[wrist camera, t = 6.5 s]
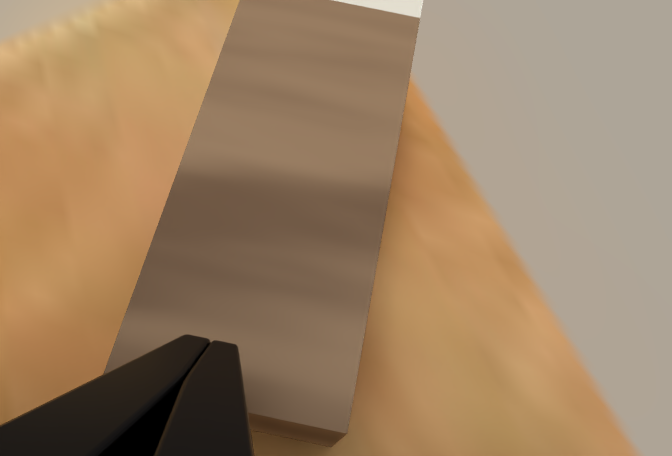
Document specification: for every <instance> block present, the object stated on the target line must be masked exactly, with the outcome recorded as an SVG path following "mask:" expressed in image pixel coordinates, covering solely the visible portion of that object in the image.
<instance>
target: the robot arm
mask: <svg viewBox="0 0 672 456" xmlns="http://www.w3.org/2000/svg"><path fill="white" fill-rule="evenodd" d="M0 456H254V451H253V444H252V437H251V431H250V424H249V417H248V410H247V403H246V396H245V389H244V383H243V376H242V369H241V362H240V355H239V349H238V346H237V345H236V344H233V343H228V342H223V341H218V340H214V341H212V342H211V341H210V340H209V339H208V338H204V337H199V336H194V335H189V334H185V335H182V336H180V337H178V338H176V339H174V340H172V341H170V342H168V343H166V344H164V345H162V346H160V347H158V348H156V349H154V350H152V351H150V352H148V353H146V354H144V355H142V356H140V357H138V358H136V359H134V360H132V361H130V362H128V363H126V364H124V365H122V366H120V367H118V368H116V369H114V370H112V371H110V372H107V373H105V374H103V375H101V376H99V377H97V378H95V379H93V380H91V381H89V382H87V383H85V384H83V385H81V386H79V387H77V388H75V389H73V390H71V391H69V392H67V393H65V394H63V395H61V396H59V397H57V398H55V399H53V400H51V401H49V402H47V403H45V404H43V405H41V406H39V407H37V408H35V409H33V410H31V411H29V412H27V413H25V414H22V415H20V416H18V417H16V418H14V419H12V420H10V421H8V422H6V423H4V424H2V425H0Z"/></svg>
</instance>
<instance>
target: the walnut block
mask: <svg viewBox="0 0 672 456" xmlns="http://www.w3.org/2000/svg"><path fill="white" fill-rule="evenodd" d="M422 4H423V0H240V1H239V4H238V7H237V9H236V12H235V15H234V18H233V20H232V23H231V26H230V29H229V31H228V34H227V37H226V40H225V42H224V45H223V48H222V51H221V53H220V56H219V59H218V62H217V64H216V67H215V70H214V72H213V75H212V78H211V81H210V83H209V86H208V89H207V92H206V94H205V97H204V100H203V103H202V105H201V108H200V111H199V114H198V116H197V119H196V122H195V125H194V127H193V130H192V133H191V136H190V138H189V141H188V144H187V147H186V149H185V152H184V155H183V157H182V160H181V163H180V166H179V168H178V171H177V174H176V177H175V179H174V182H173V185H172V188H171V190H170V193H169V196H168V199H167V201H166V204H165V207H164V210H163V212H162V215H161V218H160V221H159V223H158V226H157V229H156V231H155V234H154V237H153V240H152V242H151V245H150V248H149V251H148V253H147V256H146V259H145V262H144V264H143V267H142V270H141V273H140V275H139V278H138V281H137V284H136V286H135V289H134V292H133V295H132V297H131V300H130V303H129V306H128V308H127V311H126V314H125V316H124V319H123V322H122V325H121V327H120V330H119V333H118V336H117V338H116V341H115V344H114V347H113V349H112V352H111V355H110V358H109V360H108V363H107V366H106V369H105V371H104V374H105V373H107V372H110V371H112V370H114V369H116V368H118V367H120V366H122V365H124V364H126V363H128V362H130V361H132V360H134V359H136V358H138V357H140V356H142V355H144V354H146V353H148V352H150V351H152V350H154V349H156V348H158V347H160V346H162V345H164V344H166V343H168V342H170V341H172V340H174V339H176V338H178V337H180V336H182V335H185V334H189V335H194V336H199V337H204V338H208V339H209V340H210V341H211V342H212V341H214V340H218V341H223V342H228V343H233V344H236V345H237V346H238V349H239V355H240V362H241V369H242V376H243V383H244V389H245V396H246V403H247V410H248V417H249V424H250V430H254V431H258V432H263V433H268V434H272V435H277V436H282V437H287V438H291V439H296V440H301V441H305V442H310V443H315V444H319V445H324V446H329V447H332V446H333V445H334V444H335V443H337V442H338V441H339V440H340V439H341V438H343V437H344V436H345V435H346V434H347V431H348V426H349V420H350V414H351V409H352V403H353V397H354V392H355V386H356V380H357V374H358V369H359V363H360V357H361V352H362V346H363V340H364V335H365V329H366V323H367V317H368V312H369V306H370V300H371V295H372V289H373V283H374V278H375V272H376V266H377V261H378V255H379V249H380V243H381V238H382V232H383V226H384V221H385V215H386V209H387V204H388V198H389V192H390V186H391V181H392V175H393V169H394V164H395V158H396V152H397V147H398V141H399V135H400V129H401V124H402V118H403V112H404V107H405V101H406V95H407V90H408V84H409V78H410V73H411V67H412V61H413V55H414V50H415V44H416V38H417V33H418V27H419V21H420V15H421V10H422Z"/></svg>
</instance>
